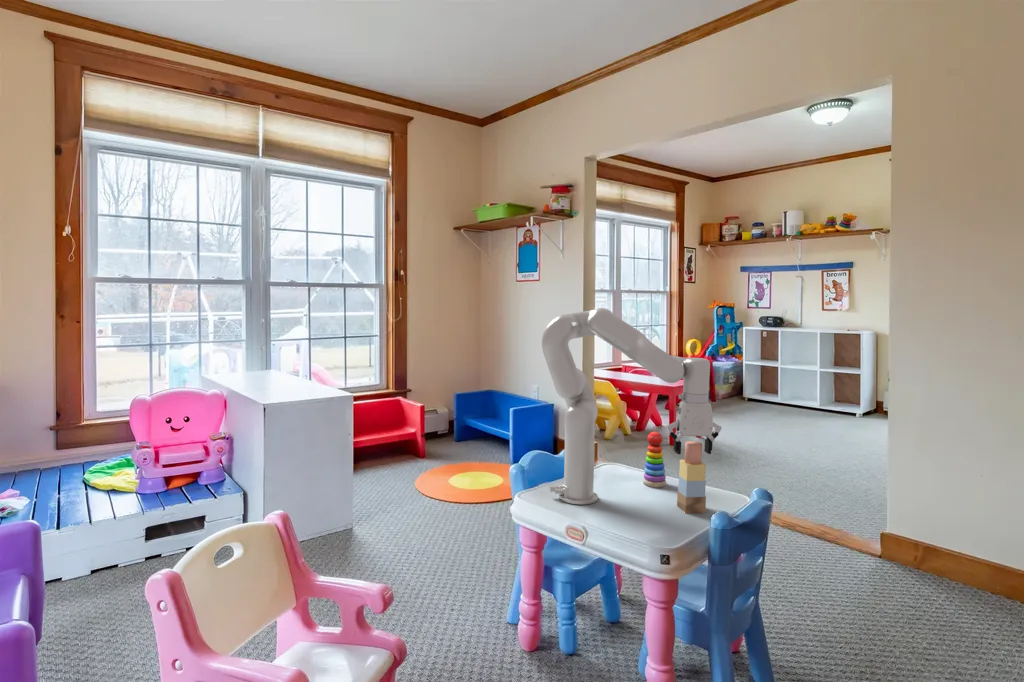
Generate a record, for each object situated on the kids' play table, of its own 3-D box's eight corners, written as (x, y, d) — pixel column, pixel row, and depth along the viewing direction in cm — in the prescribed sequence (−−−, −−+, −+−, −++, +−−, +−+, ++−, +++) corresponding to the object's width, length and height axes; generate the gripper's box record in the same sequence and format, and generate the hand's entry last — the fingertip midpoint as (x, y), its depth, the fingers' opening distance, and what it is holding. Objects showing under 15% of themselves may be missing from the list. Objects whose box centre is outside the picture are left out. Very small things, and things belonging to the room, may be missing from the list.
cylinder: (688, 464, 179) (689, 445, 178) (681, 460, 184) (682, 441, 183) (704, 464, 179) (705, 445, 179) (697, 459, 184) (698, 441, 184)
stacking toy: (664, 481, 210) (666, 429, 208) (667, 488, 202) (669, 435, 200) (641, 480, 210) (643, 429, 209) (644, 487, 202) (646, 434, 201)
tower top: (686, 481, 179) (687, 465, 178) (679, 475, 184) (679, 459, 184) (705, 480, 179) (705, 464, 179) (697, 474, 185) (697, 459, 185)
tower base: (685, 513, 179) (685, 497, 179) (677, 506, 185) (677, 490, 185) (705, 513, 180) (705, 497, 179) (696, 505, 186) (697, 490, 186)
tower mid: (686, 497, 179) (686, 481, 178) (678, 490, 185) (679, 475, 184) (705, 496, 180) (705, 480, 179) (696, 490, 186) (697, 474, 185)
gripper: (672, 400, 175) (670, 456, 177) (728, 400, 177) (725, 456, 178) (663, 396, 183) (661, 450, 184) (716, 396, 185) (713, 449, 186)
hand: (692, 453), depth 181 cm, fingers open, 9 cm apart
